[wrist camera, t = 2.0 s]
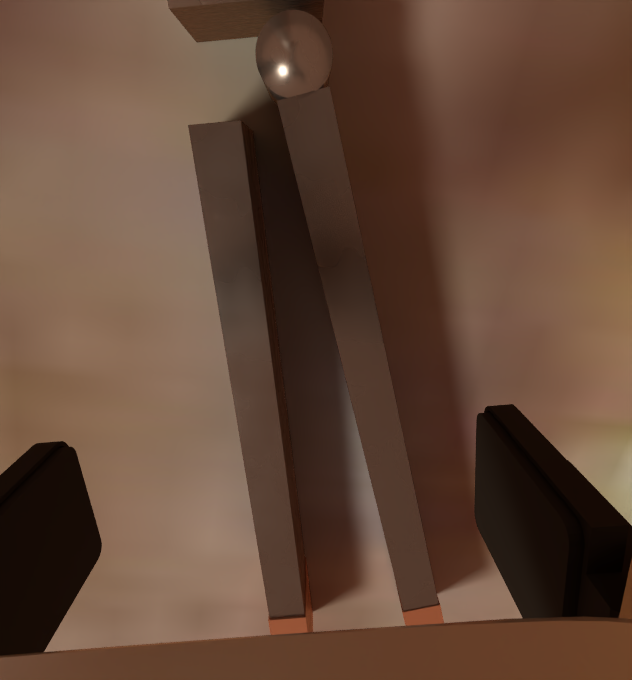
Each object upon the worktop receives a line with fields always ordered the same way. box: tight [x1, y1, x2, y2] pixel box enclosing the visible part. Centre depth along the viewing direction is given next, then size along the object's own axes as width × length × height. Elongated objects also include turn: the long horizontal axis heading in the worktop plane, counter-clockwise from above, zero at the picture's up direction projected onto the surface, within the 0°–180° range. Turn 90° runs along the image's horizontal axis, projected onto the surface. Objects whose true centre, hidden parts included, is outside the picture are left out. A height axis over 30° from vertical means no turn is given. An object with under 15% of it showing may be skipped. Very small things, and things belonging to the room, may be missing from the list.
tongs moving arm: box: [256, 10, 444, 626], centre depth 19 cm, size 27×2×4 cm, turn 14°
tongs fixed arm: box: [168, 0, 324, 635], centre depth 19 cm, size 30×4×4 cm, turn 5°
